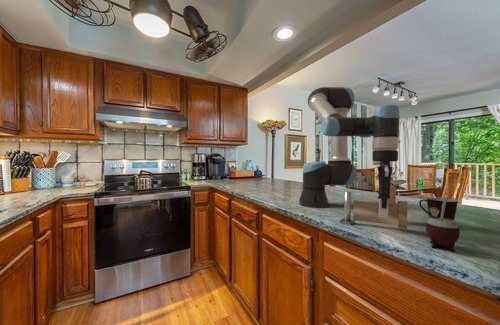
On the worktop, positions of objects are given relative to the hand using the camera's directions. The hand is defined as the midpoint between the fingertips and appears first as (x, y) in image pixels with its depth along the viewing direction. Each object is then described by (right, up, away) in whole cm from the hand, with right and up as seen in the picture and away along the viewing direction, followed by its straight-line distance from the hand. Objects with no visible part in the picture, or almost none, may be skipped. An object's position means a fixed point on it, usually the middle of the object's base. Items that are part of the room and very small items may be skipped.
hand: (383, 216), depth 73 cm
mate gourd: (+7, -5, -15) cm, 17 cm away
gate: (0, -3, +3) cm, 5 cm away
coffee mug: (+26, -5, +7) cm, 27 cm away
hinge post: (-9, -4, +8) cm, 13 cm away
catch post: (+8, -4, +10) cm, 14 cm away
